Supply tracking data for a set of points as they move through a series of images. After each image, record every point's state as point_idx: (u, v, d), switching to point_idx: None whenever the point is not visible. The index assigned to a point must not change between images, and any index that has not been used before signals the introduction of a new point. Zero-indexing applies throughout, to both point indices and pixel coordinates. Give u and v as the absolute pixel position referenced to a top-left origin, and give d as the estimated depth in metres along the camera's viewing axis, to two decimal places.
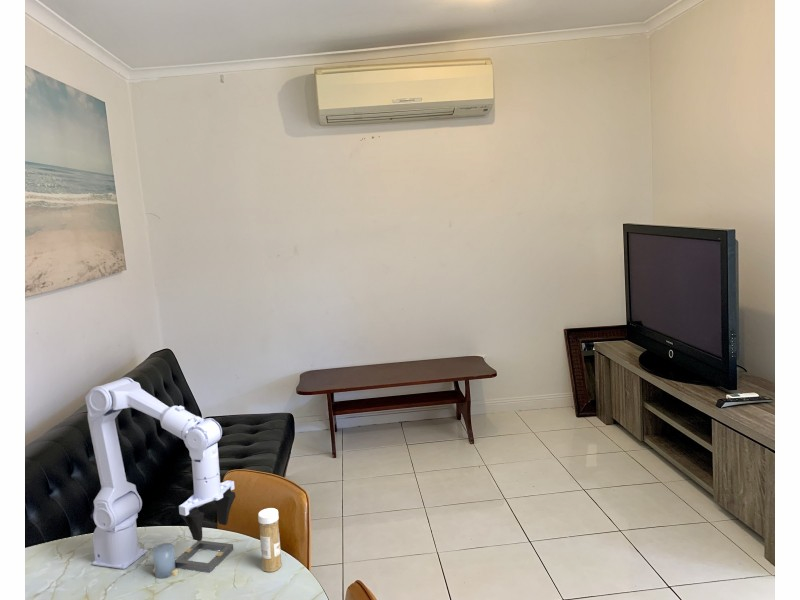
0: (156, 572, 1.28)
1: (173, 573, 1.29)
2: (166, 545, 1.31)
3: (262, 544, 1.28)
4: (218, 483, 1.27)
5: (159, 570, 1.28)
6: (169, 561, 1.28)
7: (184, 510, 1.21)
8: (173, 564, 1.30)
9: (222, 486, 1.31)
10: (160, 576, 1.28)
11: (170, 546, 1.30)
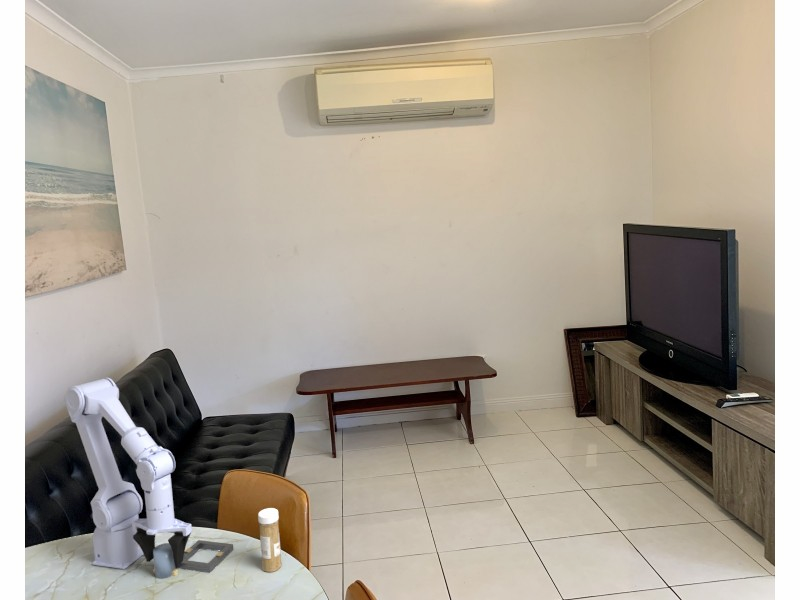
0: (156, 572, 1.28)
1: (173, 573, 1.29)
2: (166, 545, 1.31)
3: (262, 544, 1.28)
4: (155, 519, 1.26)
5: (159, 570, 1.28)
6: (169, 561, 1.28)
7: None
8: (173, 564, 1.30)
9: (176, 526, 1.28)
10: (160, 576, 1.28)
11: (170, 546, 1.30)
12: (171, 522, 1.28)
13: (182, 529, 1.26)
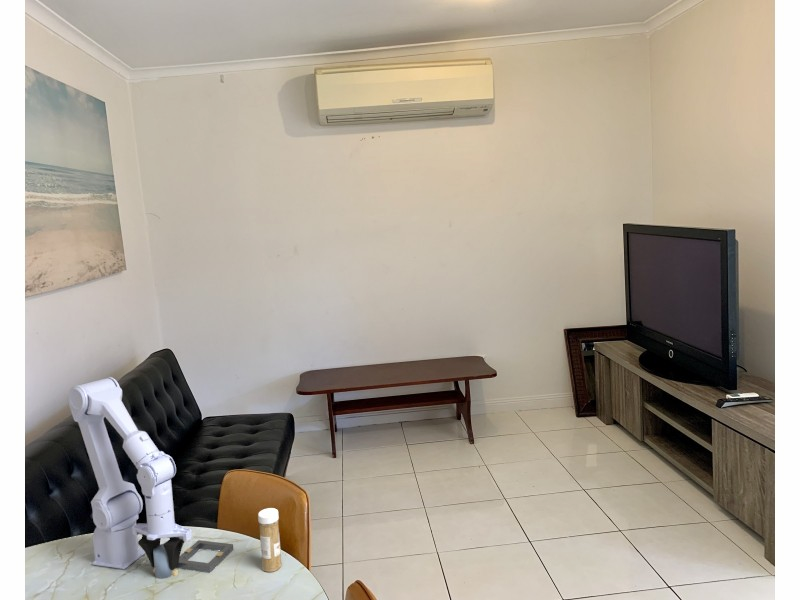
0: (156, 572, 1.28)
1: (173, 573, 1.29)
2: None
3: (262, 544, 1.28)
4: (155, 524, 1.26)
5: (159, 570, 1.28)
6: None
7: None
8: None
9: (177, 531, 1.28)
10: (160, 576, 1.28)
11: None
12: (171, 527, 1.28)
13: (182, 534, 1.26)
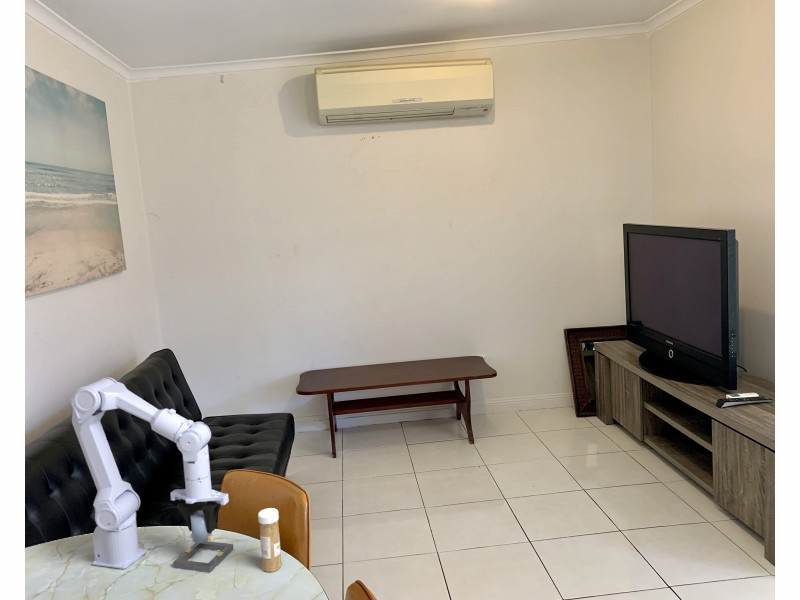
0: (193, 537, 1.33)
1: (209, 538, 1.33)
2: (202, 512, 1.35)
3: (262, 544, 1.28)
4: (194, 488, 1.31)
5: (196, 534, 1.32)
6: None
7: None
8: None
9: (214, 495, 1.32)
10: (197, 541, 1.32)
11: None
12: (209, 492, 1.33)
13: (220, 498, 1.31)
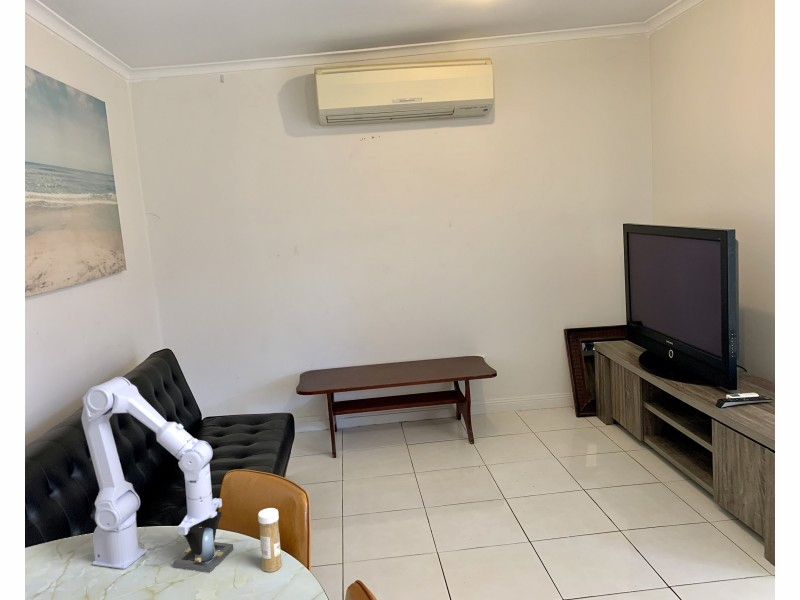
0: (209, 553, 1.34)
1: (213, 548, 1.37)
2: None
3: (262, 544, 1.28)
4: (211, 501, 1.34)
5: (212, 549, 1.35)
6: None
7: (183, 530, 1.27)
8: None
9: None
10: (213, 554, 1.35)
11: None
12: None
13: (219, 501, 1.40)
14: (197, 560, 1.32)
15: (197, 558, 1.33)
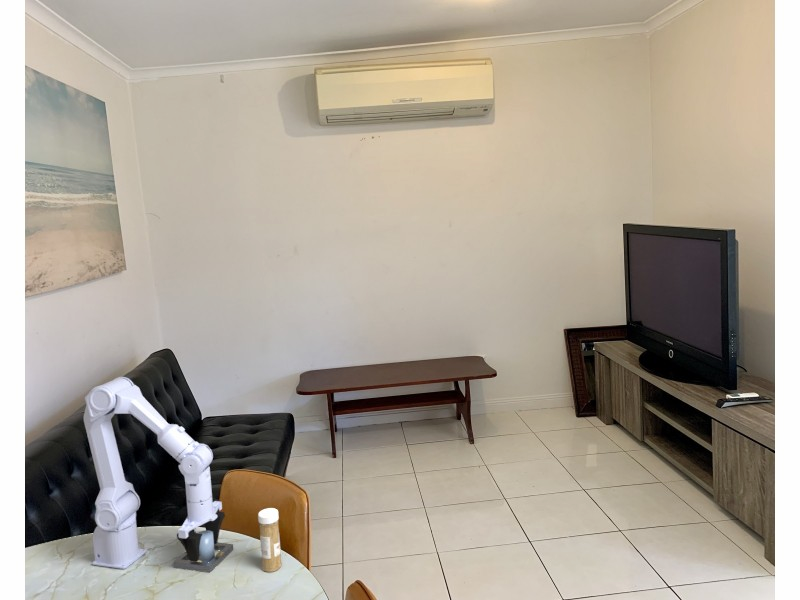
0: (210, 556, 1.34)
1: (214, 551, 1.38)
2: None
3: (262, 544, 1.28)
4: (212, 504, 1.34)
5: (212, 551, 1.35)
6: None
7: (184, 533, 1.27)
8: None
9: None
10: (213, 557, 1.35)
11: (203, 532, 1.36)
12: None
13: (220, 504, 1.40)
14: None
15: (197, 561, 1.33)
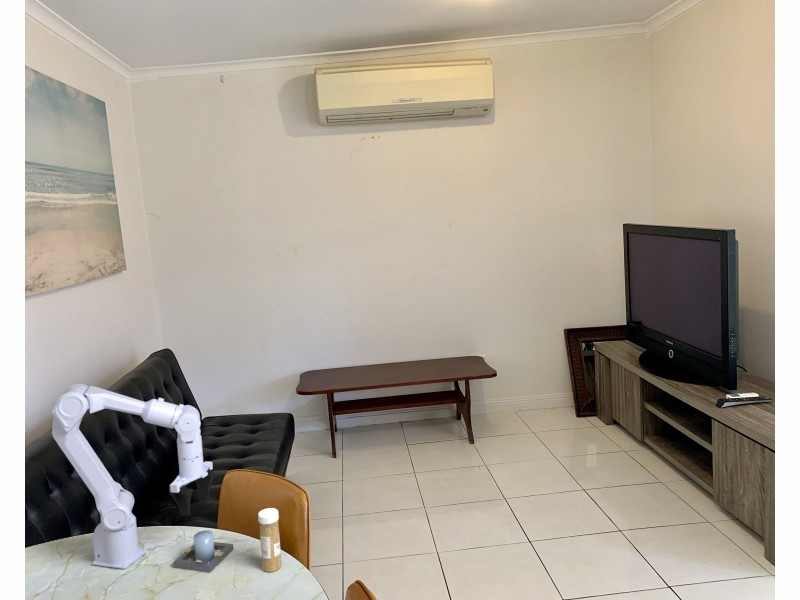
0: (210, 556, 1.34)
1: (214, 551, 1.38)
2: (199, 534, 1.35)
3: (262, 544, 1.28)
4: (202, 462, 1.41)
5: (212, 551, 1.35)
6: None
7: (175, 487, 1.34)
8: None
9: None
10: (213, 557, 1.35)
11: (203, 532, 1.36)
12: None
13: (210, 464, 1.47)
14: None
15: (197, 561, 1.33)
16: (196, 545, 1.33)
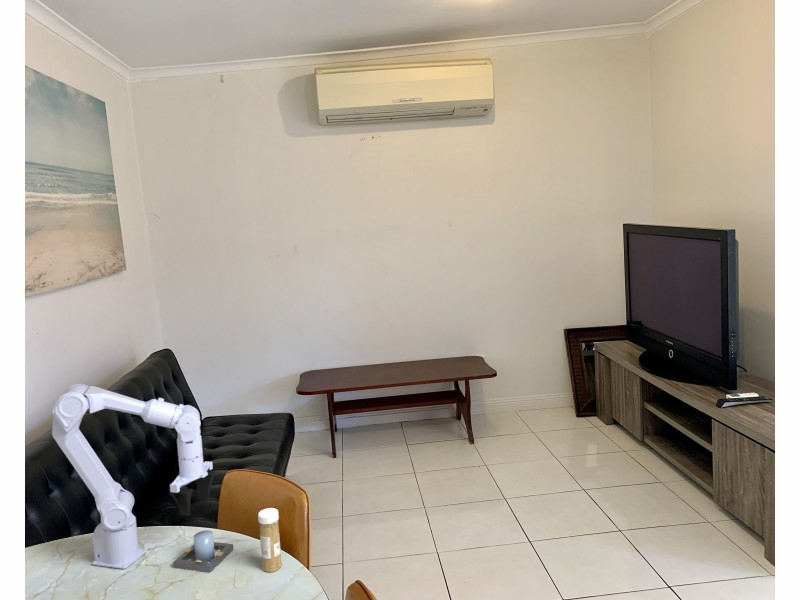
0: (210, 556, 1.34)
1: (214, 551, 1.38)
2: (199, 534, 1.35)
3: (262, 544, 1.28)
4: (202, 462, 1.41)
5: (212, 551, 1.35)
6: None
7: (175, 487, 1.34)
8: None
9: None
10: (213, 557, 1.35)
11: (203, 532, 1.36)
12: None
13: (210, 464, 1.47)
14: None
15: (197, 561, 1.33)
16: (196, 545, 1.33)
